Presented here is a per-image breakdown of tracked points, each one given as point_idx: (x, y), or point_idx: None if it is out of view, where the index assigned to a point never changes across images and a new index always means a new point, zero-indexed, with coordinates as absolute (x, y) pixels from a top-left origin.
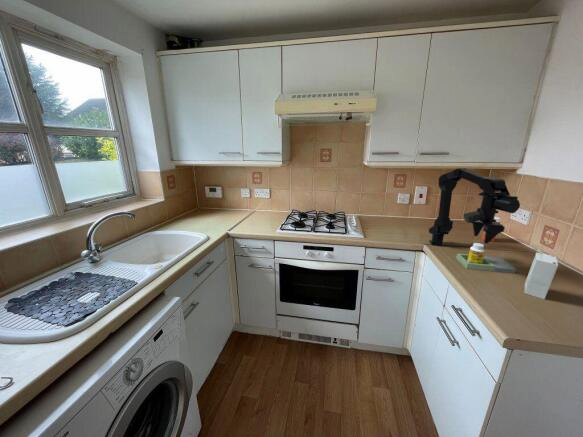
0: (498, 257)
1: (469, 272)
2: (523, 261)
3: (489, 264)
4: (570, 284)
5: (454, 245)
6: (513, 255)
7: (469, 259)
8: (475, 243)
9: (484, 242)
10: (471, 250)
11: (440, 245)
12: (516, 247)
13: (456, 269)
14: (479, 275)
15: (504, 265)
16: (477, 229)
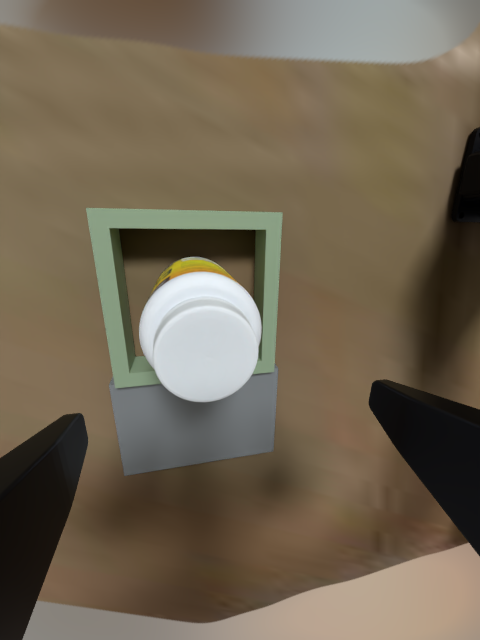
0: (272, 445)
1: (33, 204)
2: (281, 518)
3: (149, 368)
4: (89, 594)
5: (453, 290)
6: (338, 503)
7: (182, 261)
8: (237, 333)
9: (72, 417)
10: (187, 273)
11: (458, 190)
12: (413, 531)
13: (52, 116)
14: (7, 257)
15: (162, 440)
16: (477, 481)
